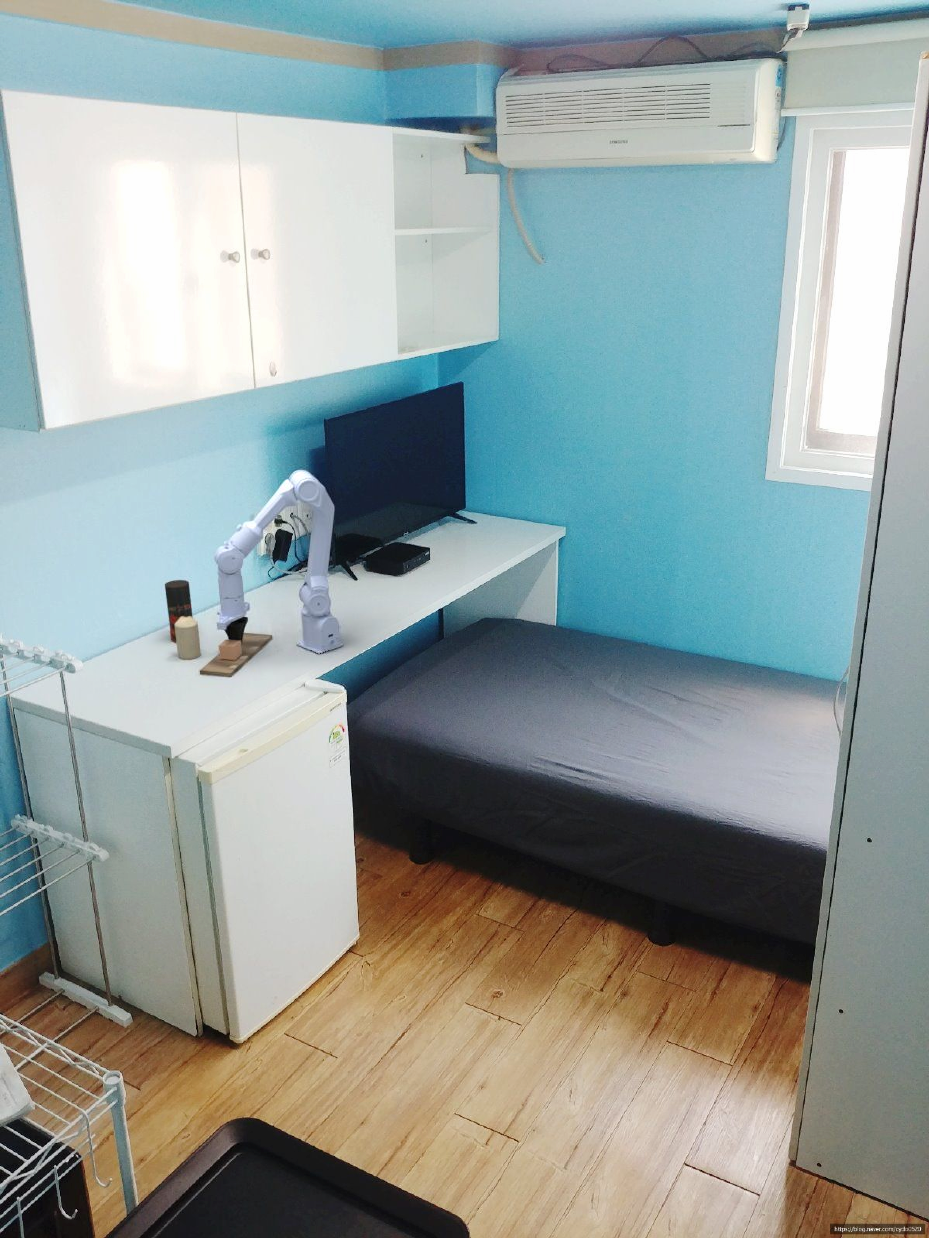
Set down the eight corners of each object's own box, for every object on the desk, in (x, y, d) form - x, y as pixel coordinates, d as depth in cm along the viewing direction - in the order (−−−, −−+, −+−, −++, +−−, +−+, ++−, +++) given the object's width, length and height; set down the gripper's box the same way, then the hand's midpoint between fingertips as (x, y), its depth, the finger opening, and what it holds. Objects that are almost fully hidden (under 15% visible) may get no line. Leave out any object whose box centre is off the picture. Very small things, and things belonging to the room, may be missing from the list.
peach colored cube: (227, 652, 264) (225, 639, 263) (242, 653, 263) (240, 640, 262) (219, 658, 261) (218, 645, 259) (235, 660, 260) (233, 646, 259)
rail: (243, 636, 278) (243, 632, 278) (272, 638, 276) (272, 634, 276) (199, 674, 255) (199, 670, 255) (231, 677, 253) (230, 672, 253)
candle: (173, 656, 266) (169, 619, 262) (190, 649, 270) (186, 612, 266) (189, 661, 263) (184, 623, 259) (205, 654, 267) (201, 616, 263)
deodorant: (167, 638, 277) (160, 583, 272) (188, 632, 281) (182, 578, 275) (177, 644, 273) (171, 589, 268) (198, 639, 276) (193, 584, 271)
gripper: (229, 584, 267) (234, 635, 272) (203, 603, 254) (208, 656, 259) (255, 586, 266) (260, 637, 271) (230, 605, 253) (235, 659, 257)
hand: (236, 646), depth 265 cm, fingers closed
